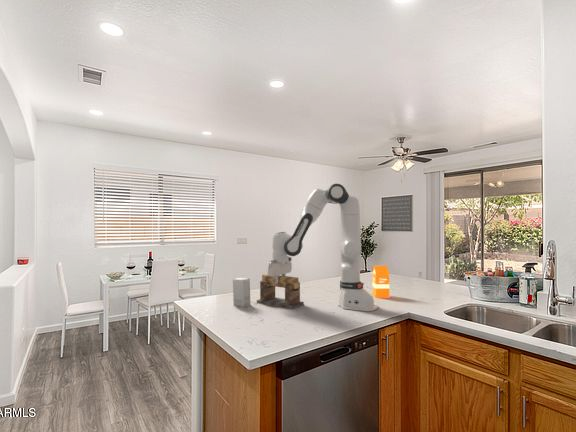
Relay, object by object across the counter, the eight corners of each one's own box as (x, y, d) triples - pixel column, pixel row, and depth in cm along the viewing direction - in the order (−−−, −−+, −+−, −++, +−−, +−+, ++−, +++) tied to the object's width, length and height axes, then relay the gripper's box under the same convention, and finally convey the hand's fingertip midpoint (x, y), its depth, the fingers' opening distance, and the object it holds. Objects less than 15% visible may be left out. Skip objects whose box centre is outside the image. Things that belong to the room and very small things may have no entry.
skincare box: (250, 304, 187) (250, 278, 187) (243, 307, 181) (243, 280, 181) (239, 302, 191) (239, 277, 192) (232, 305, 186) (232, 278, 186)
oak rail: (298, 287, 185) (298, 277, 185) (294, 289, 181) (294, 278, 181) (266, 283, 198) (266, 273, 198) (262, 284, 195) (262, 274, 195)
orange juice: (389, 297, 203) (389, 266, 203) (375, 297, 203) (375, 266, 204) (385, 295, 211) (385, 264, 211) (372, 295, 211) (372, 264, 211)
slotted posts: (303, 304, 187) (303, 282, 187) (292, 309, 177) (292, 285, 177) (268, 298, 202) (268, 278, 202) (256, 302, 192) (256, 281, 192)
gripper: (273, 261, 179) (274, 285, 179) (293, 257, 196) (293, 280, 196) (265, 260, 183) (265, 284, 183) (284, 257, 200) (285, 279, 200)
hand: (279, 282), depth 190 cm, fingers closed on oak rail, 4 cm apart
